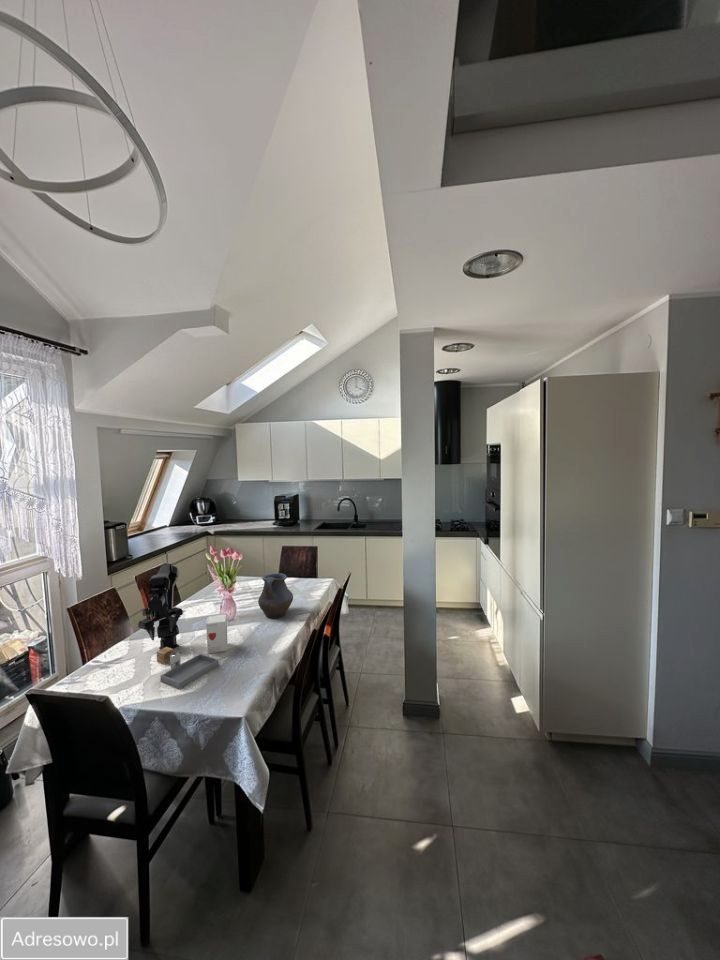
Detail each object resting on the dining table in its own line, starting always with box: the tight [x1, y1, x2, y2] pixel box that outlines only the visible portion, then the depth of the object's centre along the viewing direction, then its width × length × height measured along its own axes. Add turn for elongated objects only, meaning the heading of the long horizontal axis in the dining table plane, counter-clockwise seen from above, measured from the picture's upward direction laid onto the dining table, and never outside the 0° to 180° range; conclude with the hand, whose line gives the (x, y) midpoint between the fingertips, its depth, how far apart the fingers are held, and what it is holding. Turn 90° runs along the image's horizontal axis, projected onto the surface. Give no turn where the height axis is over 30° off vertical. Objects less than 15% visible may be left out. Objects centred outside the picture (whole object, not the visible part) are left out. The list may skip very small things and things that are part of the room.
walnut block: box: [156, 647, 174, 665], centre depth 180 cm, size 5×5×5 cm
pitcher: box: [257, 572, 294, 619], centre depth 228 cm, size 21×22×25 cm
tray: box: [160, 653, 220, 690], centre depth 169 cm, size 20×12×3 cm, turn 152°
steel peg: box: [169, 652, 182, 670], centre depth 174 cm, size 4×4×6 cm
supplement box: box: [205, 614, 229, 654], centre depth 190 cm, size 9×9×15 cm
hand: (162, 635), depth 179 cm, fingers open, 9 cm apart
